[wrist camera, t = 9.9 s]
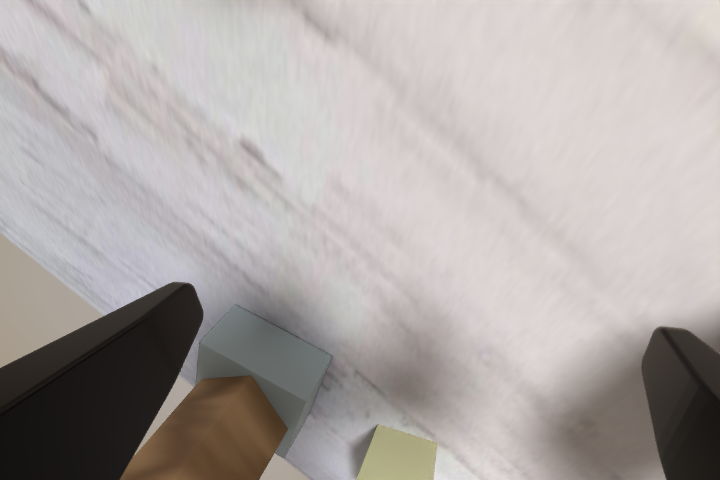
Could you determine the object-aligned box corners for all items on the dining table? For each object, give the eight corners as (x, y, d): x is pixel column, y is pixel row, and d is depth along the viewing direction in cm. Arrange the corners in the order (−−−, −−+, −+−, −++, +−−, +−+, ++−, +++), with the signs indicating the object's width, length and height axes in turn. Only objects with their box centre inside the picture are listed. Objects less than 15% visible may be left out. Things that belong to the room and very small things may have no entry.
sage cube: (437, 441, 30) (422, 503, 27) (433, 477, 33) (419, 538, 29) (378, 423, 32) (356, 479, 28) (378, 458, 34) (358, 514, 30)
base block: (332, 356, 29) (306, 401, 26) (308, 414, 34) (284, 458, 31) (235, 304, 31) (199, 341, 27) (225, 367, 35) (193, 405, 32)
